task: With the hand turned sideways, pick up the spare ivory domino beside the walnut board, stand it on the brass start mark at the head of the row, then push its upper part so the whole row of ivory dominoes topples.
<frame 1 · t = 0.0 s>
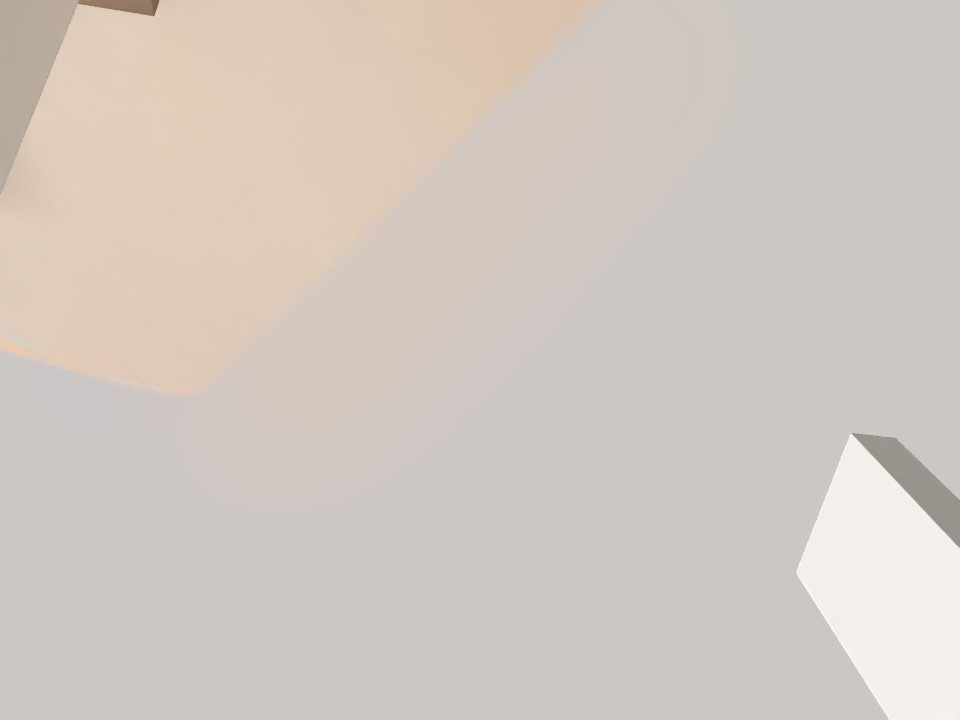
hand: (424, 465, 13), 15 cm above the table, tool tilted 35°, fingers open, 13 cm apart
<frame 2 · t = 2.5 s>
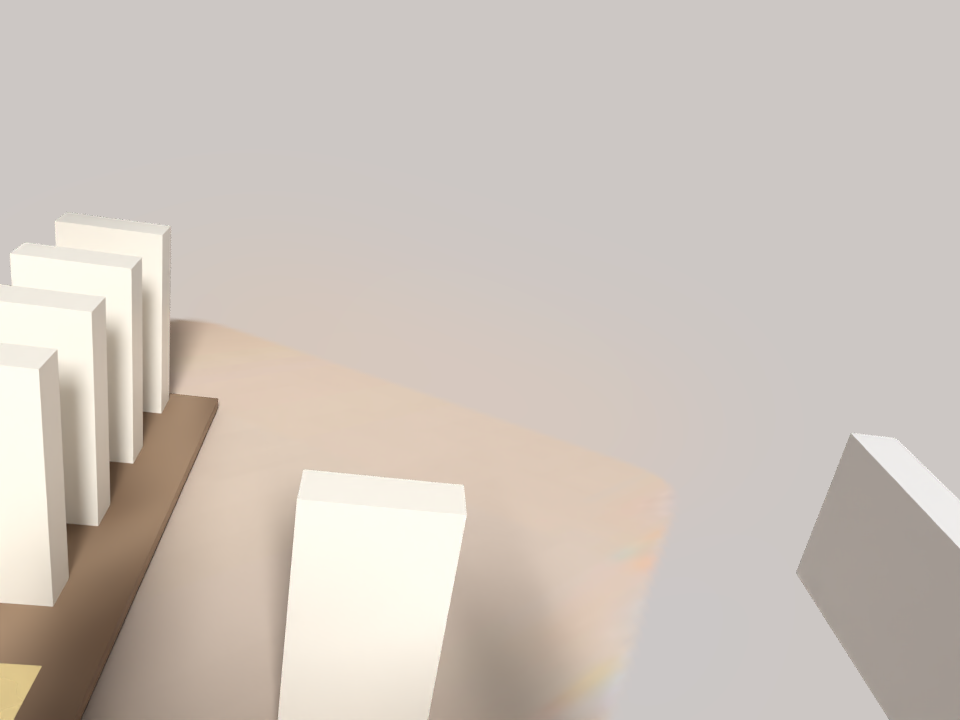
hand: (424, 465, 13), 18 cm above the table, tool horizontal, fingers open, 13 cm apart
domino 4: (84, 449, 41), point 1 cm above the table, touching board
board: (40, 528, 36), on the table
domino 5: (117, 401, 45), point 1 cm above the table, touching board
domino 3: (44, 509, 36), point 1 cm above the table, touching board
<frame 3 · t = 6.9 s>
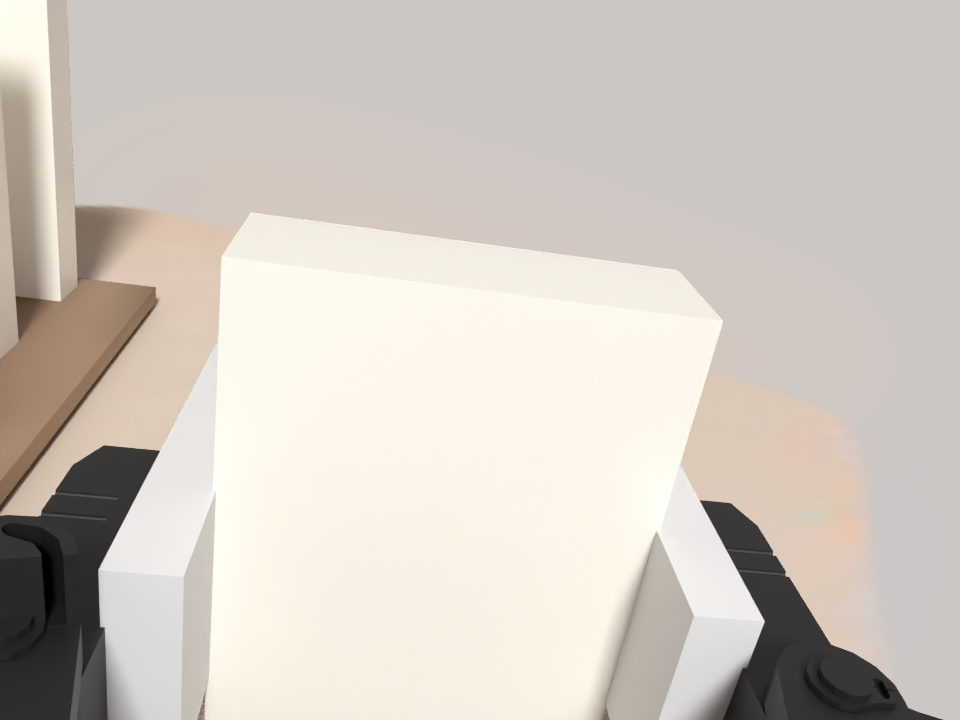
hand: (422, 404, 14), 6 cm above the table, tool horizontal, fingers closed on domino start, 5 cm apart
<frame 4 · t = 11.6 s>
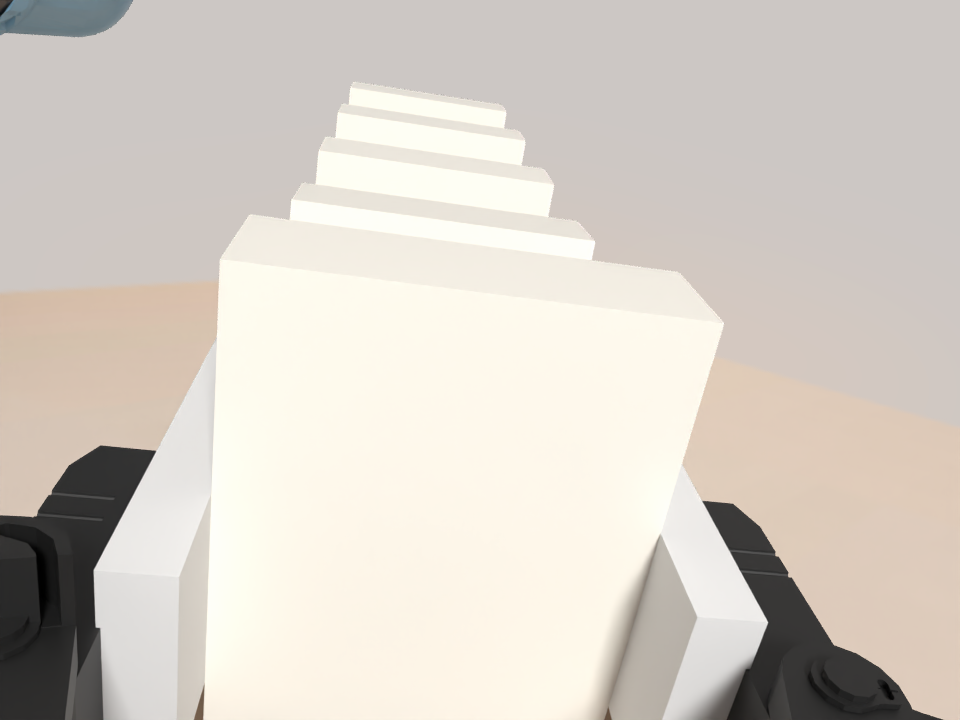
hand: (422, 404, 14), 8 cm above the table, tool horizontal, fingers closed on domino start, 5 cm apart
domino 2: (379, 672, 18), point 1 cm above the table, touching board
domino 4: (389, 437, 27), point 1 cm above the table, touching board
domino 5: (393, 370, 31), point 1 cm above the table, touching board
domino 3: (385, 532, 22), point 1 cm above the table, touching board
when the fingers open (8 cm above the table, at t = 11.6 s): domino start stays where it is, resting on board.
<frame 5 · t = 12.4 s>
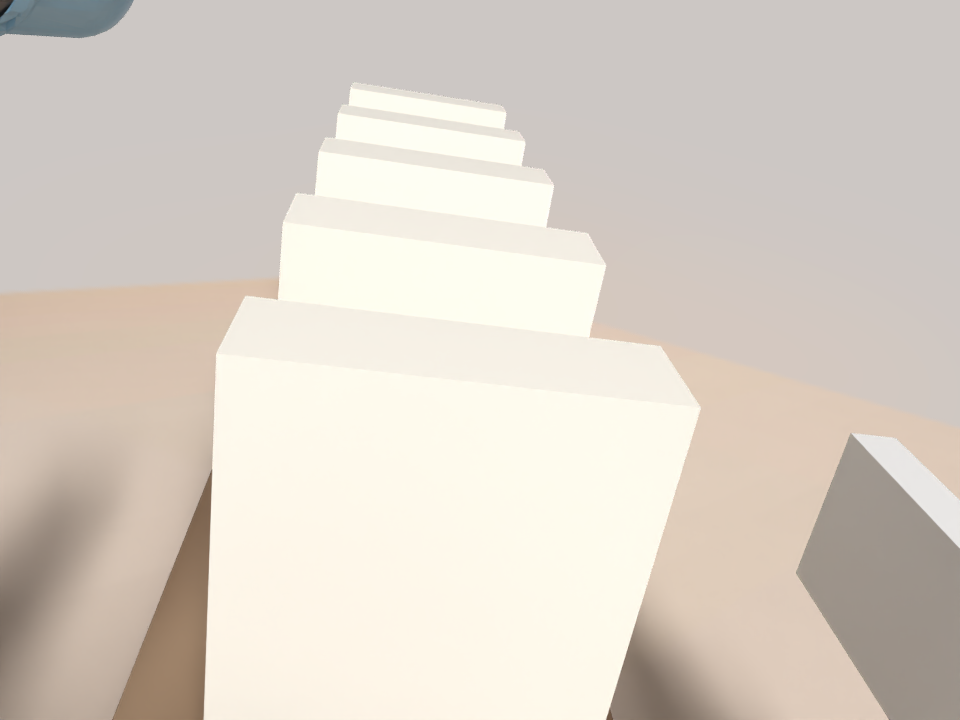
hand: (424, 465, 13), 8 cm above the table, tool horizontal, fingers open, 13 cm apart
domino 2: (379, 674, 18), point 1 cm above the table, touching board
domino 4: (390, 438, 27), point 1 cm above the table, touching board
board: (382, 562, 22), on the table
domino 5: (393, 370, 31), point 1 cm above the table, touching board
domino 3: (385, 532, 22), point 1 cm above the table, touching board
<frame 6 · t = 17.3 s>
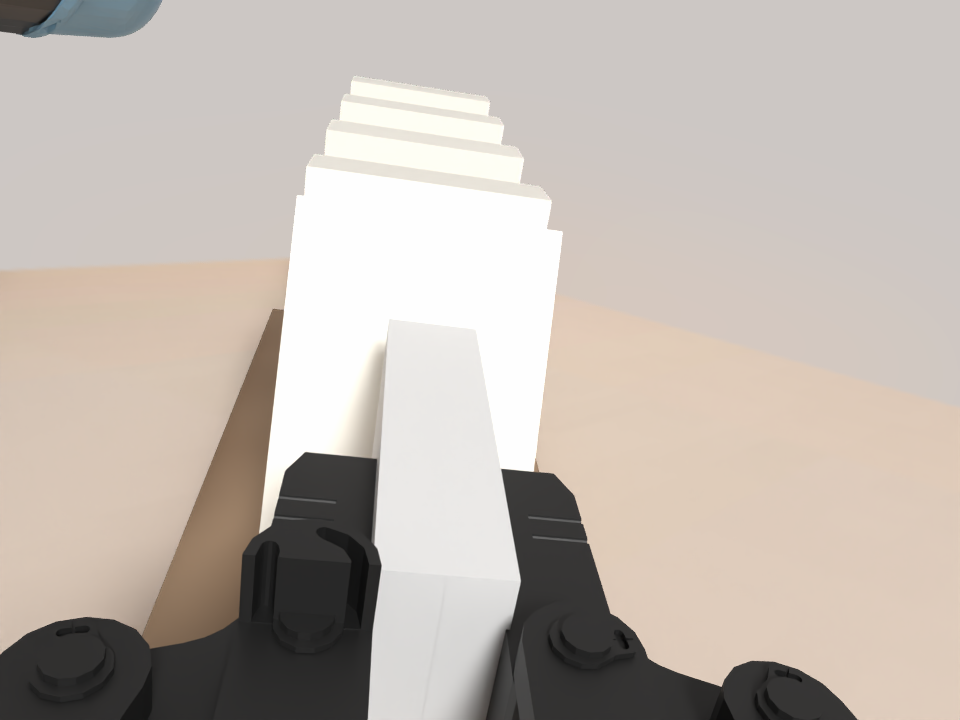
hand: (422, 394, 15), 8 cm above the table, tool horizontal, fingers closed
domino 2: (377, 569, 21), point 1 cm above the table, touching board, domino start
domino 4: (387, 391, 30), point 1 cm above the table, touching board
board: (380, 490, 26), on the table
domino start: (371, 718, 17), point 1 cm above the table, tilted 23°, touching board, domino 2
domino 5: (389, 336, 35), point 1 cm above the table, touching board
domino 3: (383, 465, 26), point 1 cm above the table, touching board
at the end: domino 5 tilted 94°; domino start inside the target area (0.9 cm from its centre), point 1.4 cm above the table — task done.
